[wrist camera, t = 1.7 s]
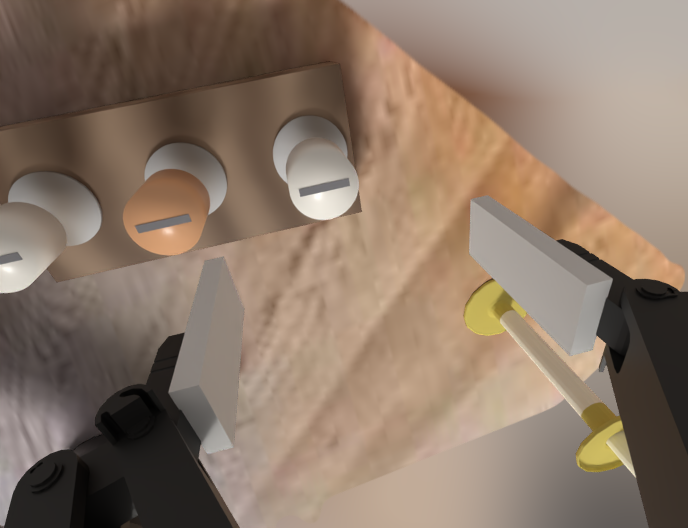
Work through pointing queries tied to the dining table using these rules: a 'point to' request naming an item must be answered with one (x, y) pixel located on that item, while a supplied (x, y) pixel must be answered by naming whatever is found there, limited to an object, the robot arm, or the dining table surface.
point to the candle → (553, 377)
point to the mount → (174, 160)
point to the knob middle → (167, 212)
